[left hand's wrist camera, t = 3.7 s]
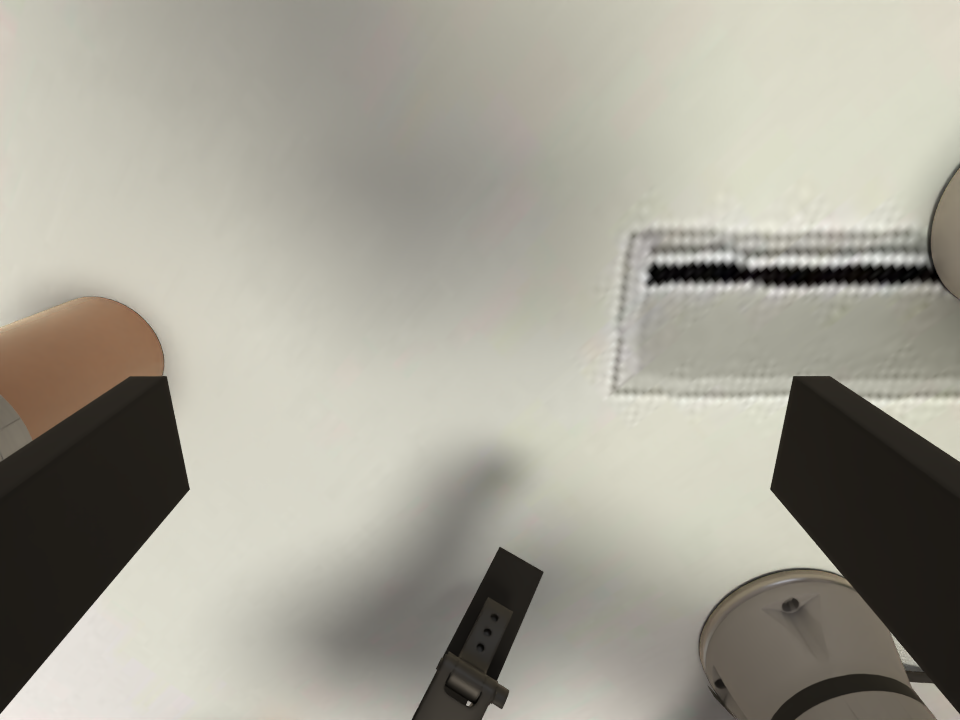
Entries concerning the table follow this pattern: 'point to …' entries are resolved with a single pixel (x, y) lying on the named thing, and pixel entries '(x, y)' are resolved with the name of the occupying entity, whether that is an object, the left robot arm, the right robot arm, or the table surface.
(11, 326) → the jar
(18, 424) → the lid
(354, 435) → the table surface
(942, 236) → the bust sculpture
